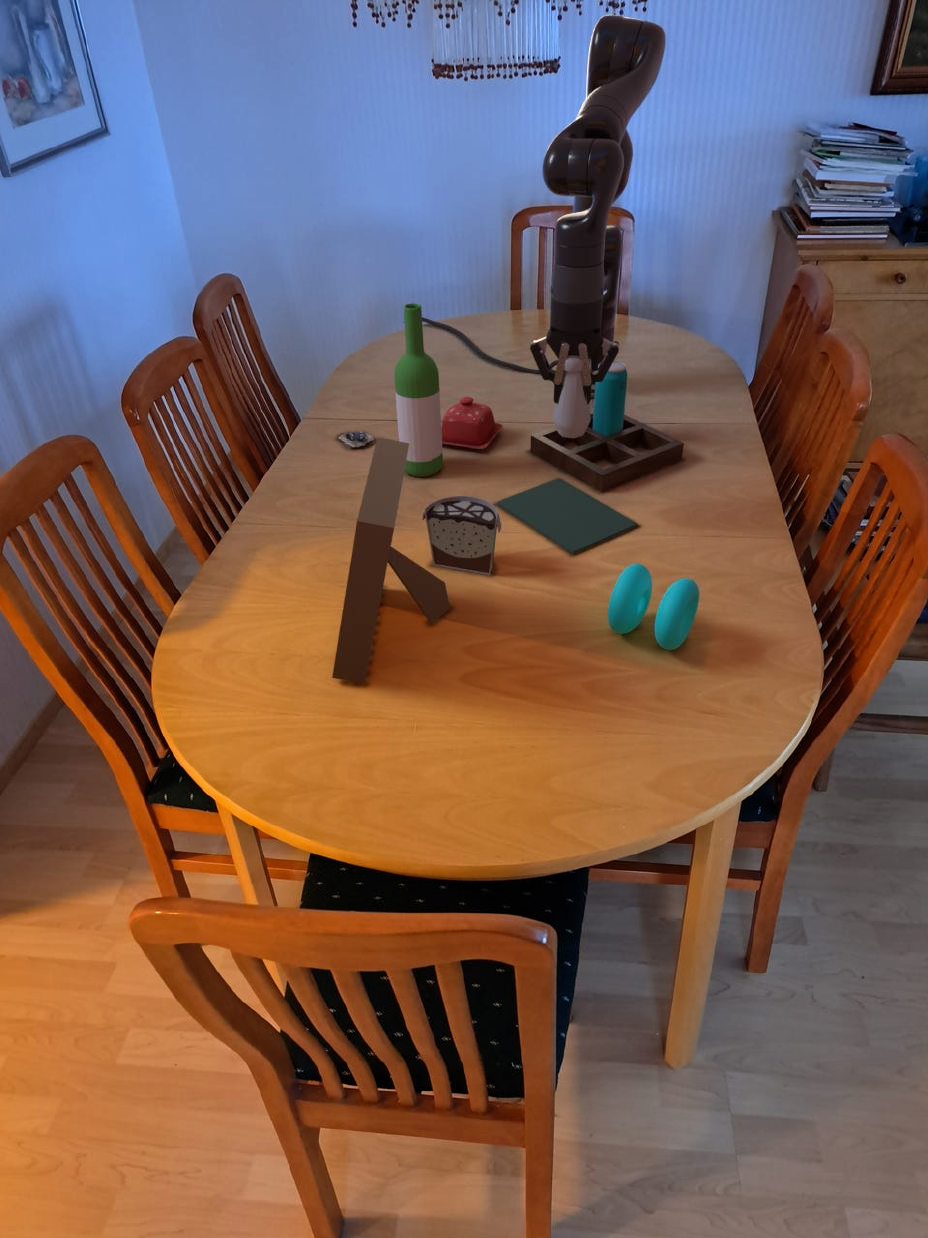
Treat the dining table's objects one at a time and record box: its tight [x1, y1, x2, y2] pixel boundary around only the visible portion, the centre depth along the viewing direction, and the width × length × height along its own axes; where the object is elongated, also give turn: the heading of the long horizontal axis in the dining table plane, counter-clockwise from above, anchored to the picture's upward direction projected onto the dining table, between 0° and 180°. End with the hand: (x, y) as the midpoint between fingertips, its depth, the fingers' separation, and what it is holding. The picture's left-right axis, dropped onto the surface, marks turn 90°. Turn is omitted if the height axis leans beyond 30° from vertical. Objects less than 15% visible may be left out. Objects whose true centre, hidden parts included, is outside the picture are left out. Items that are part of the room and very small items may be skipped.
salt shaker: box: [552, 356, 591, 438], centre depth 139 cm, size 6×6×13 cm
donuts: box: [607, 563, 700, 651], centre depth 122 cm, size 10×10×10 cm
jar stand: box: [530, 412, 685, 493], centre depth 168 cm, size 20×20×4 cm
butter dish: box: [441, 396, 503, 450], centre depth 173 cm, size 12×12×8 cm
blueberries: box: [338, 430, 376, 448], centre depth 176 cm, size 7×8×2 cm
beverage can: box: [592, 360, 628, 436], centre depth 169 cm, size 6×6×15 cm
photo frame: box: [331, 436, 451, 684], centre depth 120 cm, size 15×22×25 cm
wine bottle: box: [393, 302, 444, 478], centre depth 157 cm, size 8×8×30 cm
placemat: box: [496, 477, 639, 555], centre depth 152 cm, size 20×14×1 cm
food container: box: [421, 495, 502, 576], centre depth 139 cm, size 12×6×10 cm, turn 71°
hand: (571, 404), depth 140 cm, fingers closed on salt shaker, 3 cm apart
